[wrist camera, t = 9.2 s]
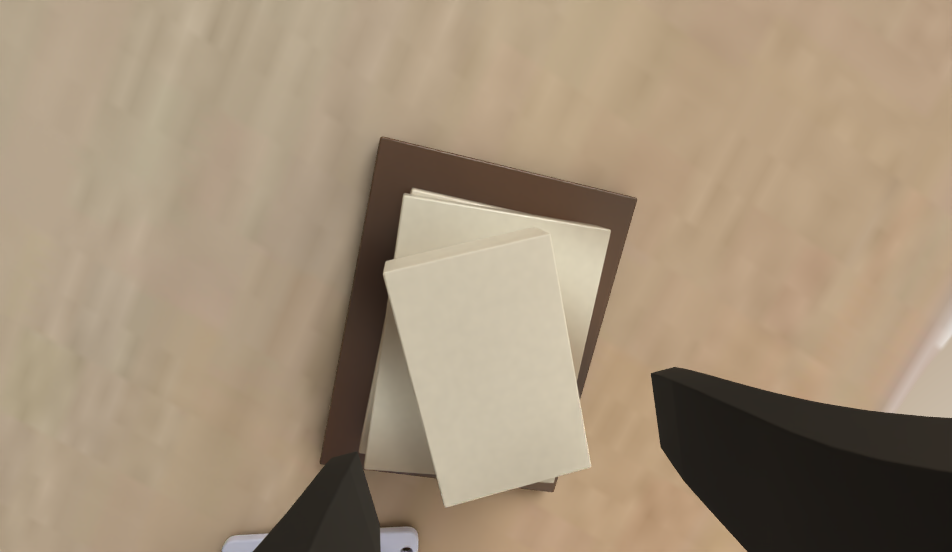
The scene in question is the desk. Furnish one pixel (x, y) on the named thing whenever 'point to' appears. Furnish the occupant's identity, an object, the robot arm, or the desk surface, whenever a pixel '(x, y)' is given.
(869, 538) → the robot arm
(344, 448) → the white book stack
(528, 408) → the cream rectangular block
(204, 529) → the desk surface
